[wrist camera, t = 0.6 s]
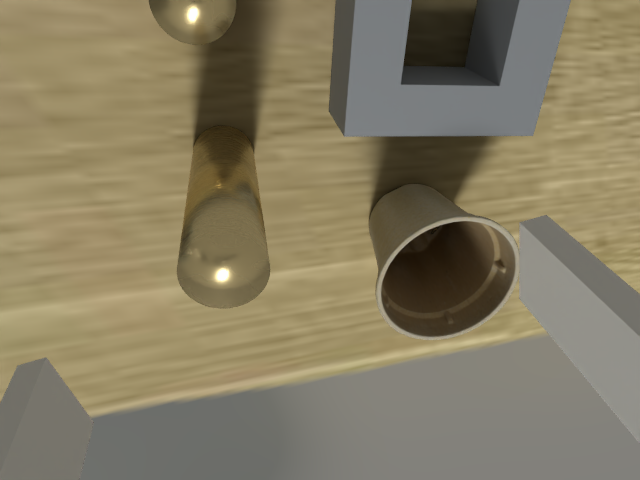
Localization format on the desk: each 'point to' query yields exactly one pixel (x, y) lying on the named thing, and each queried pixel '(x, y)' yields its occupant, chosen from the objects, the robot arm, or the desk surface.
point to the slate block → (443, 71)
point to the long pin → (223, 223)
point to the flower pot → (439, 264)
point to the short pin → (194, 18)
